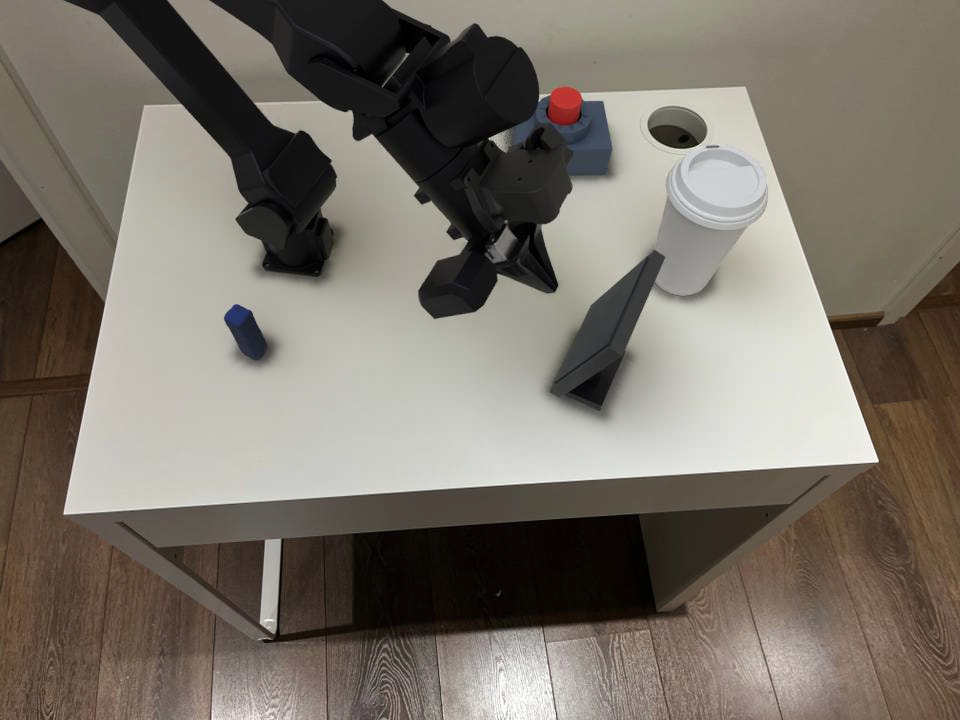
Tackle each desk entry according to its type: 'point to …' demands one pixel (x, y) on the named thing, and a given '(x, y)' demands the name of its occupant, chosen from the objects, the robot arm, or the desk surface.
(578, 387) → the monitor stand
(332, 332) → the desk surface
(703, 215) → the coffee cup
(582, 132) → the switch box
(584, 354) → the screen
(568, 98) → the power button
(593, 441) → the desk surface
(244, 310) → the eraser
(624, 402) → the desk surface
